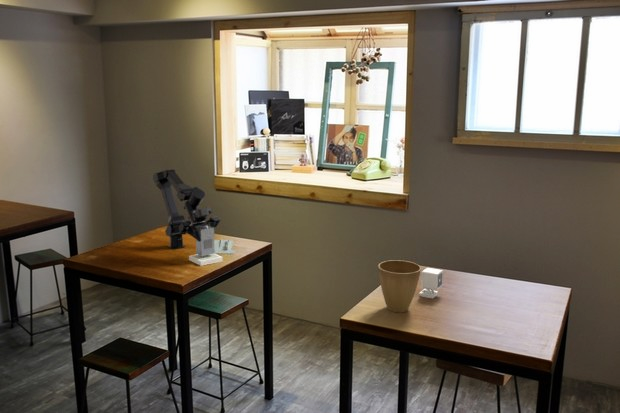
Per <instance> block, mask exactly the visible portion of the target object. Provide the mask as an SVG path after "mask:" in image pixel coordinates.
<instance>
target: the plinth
mask: <svg viewBox="0 0 620 413" xmlns="http://www.w3.org/2000/svg"><path fill="white" fill-rule="evenodd" d="M188 260H189V261H190V262H192V263H194V264H196V265H198V266H201V267H202V266H205V265H211V264H215V263H221V262H223V261H224V256H221V255H219V254H210V255H205V256H201V255H199V254H197V253H196V254H192V255H189V256H188Z"/></svg>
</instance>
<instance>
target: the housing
mask: <svg viewBox="0 0 620 413" xmlns="http://www.w3.org/2000/svg"><path fill="white" fill-rule="evenodd" d="M196 231H197V233H198V235H199V238H200V242H199V241H197V240H196V239H195V248H196V252H195V253H196V254H199V255H201V256H205V255H210V254H215V248H214V238H215V227H214V228H213V227H211V226H208V225H201V226H198V227H196Z"/></svg>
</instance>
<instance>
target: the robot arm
mask: <svg viewBox="0 0 620 413" xmlns="http://www.w3.org/2000/svg"><path fill="white" fill-rule="evenodd" d="M152 176H153V177H152V180H153V182H154V183H155V186H156V187H157V188H158V189H159V190H160V191H161V194H162V198H163V201H164V204H165V208H166V211H167V214H168V219H167V227H166V228H165V230H164V231H165V236H167V237H169V245H167V247H168V248H169V249H173V250H177V249H181V248H185V247H186V245H184V244H183V243H184V239H183V235H187V234H188V235H189V236H191V237H192V238H194V239H195V241H196V240H197V241H199V242H200V238H199V235H198V233H197V231H196V228H197V227H201V225H208V226H211V227H213V228H214V229H215V228H217V227H218V225H219V224H220V222H221V219H220V217H219V216H218V215H216V216H211V217H210V218H208V220H207V217H208V216H210V215H211V214H212V213H213V212H212V207H211V206H206V207H204V208H200V205H201V203H202V202H203V200H204V198H205V196H206V195H205V191H204V190H202V189H201V188H199V187H198V186H194V187H191V185H189V184H187V183H185V182H184V181H183V180H182V179H181V177H180V176H179V175H178V174H177V173H176V170H175V169H174V168H169V169H164V170H162V171H156V172H154V174H153V175H152ZM172 187H173V188H174V189H175V191H176V197H177V198H178V200H179V201H180V202H184V204H183V209H184V210H186V212H187V214H188V217H187V218H188V220H186V219H185V216H184V215H183V214H182V215H181V214H180V212H179V210H178V206H177V204H176V200H175V196H174V194H173V191H172Z"/></svg>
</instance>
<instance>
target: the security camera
mask: <svg viewBox="0 0 620 413" xmlns="http://www.w3.org/2000/svg"><path fill="white" fill-rule="evenodd" d="M443 276H444V270H443V269H439V268H438V269H437V268H432V267H426V268H425V269H423V270H422V271H421V278H420V279H421V283H420V285H421V286H420V287H421V288H424V289H422V290H421V291H420V292H419V293H418V295H419V297H423V298H428V299H434V298H435V297H437V296H438V294H439V291H438V290H439V289H440V288H441V287H443V280H444V279H443V278H444V277H443Z"/></svg>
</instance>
